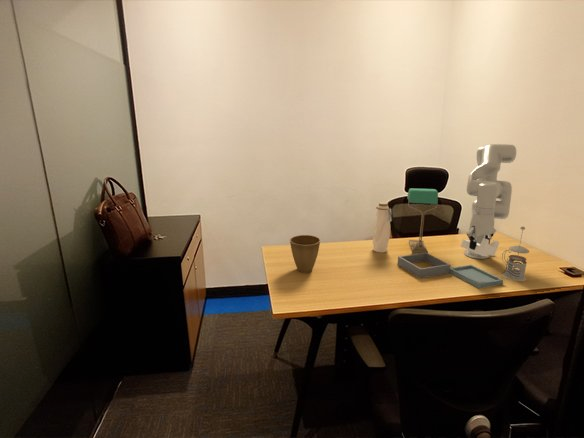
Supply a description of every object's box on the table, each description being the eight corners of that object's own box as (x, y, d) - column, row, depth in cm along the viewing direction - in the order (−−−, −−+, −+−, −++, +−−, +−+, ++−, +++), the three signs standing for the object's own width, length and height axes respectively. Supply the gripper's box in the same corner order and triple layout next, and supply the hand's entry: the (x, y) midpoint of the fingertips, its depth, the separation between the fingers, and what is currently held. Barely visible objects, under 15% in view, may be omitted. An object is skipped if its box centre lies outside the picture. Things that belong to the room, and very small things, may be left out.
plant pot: (288, 264, 179) (288, 235, 175) (317, 263, 181) (317, 234, 176) (291, 276, 165) (291, 245, 161) (321, 275, 166) (322, 244, 162)
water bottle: (392, 249, 201) (396, 202, 193) (387, 254, 193) (391, 205, 186) (375, 246, 206) (378, 200, 199) (370, 250, 199) (372, 203, 191)
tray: (470, 268, 174) (470, 264, 173) (502, 284, 157) (503, 279, 156) (448, 272, 170) (449, 268, 169) (479, 288, 152) (480, 283, 152)
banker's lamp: (405, 252, 196) (410, 192, 187) (402, 241, 215) (407, 186, 206) (434, 254, 193) (441, 193, 183) (428, 243, 212) (434, 186, 203)
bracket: (493, 258, 155) (499, 242, 153) (481, 255, 152) (487, 239, 151) (472, 248, 167) (477, 233, 165) (460, 246, 165) (466, 231, 163)
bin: (425, 260, 185) (426, 252, 183) (449, 273, 168) (450, 264, 167) (397, 264, 179) (398, 256, 178) (419, 278, 163) (420, 269, 162)
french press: (518, 282, 158) (528, 230, 152) (494, 273, 168) (502, 224, 162) (530, 278, 162) (540, 227, 156) (506, 269, 172) (514, 221, 166)
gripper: (492, 207, 161) (486, 243, 165) (462, 210, 155) (457, 247, 160) (506, 211, 154) (500, 248, 158) (476, 214, 148) (470, 252, 153)
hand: (479, 247), depth 159 cm, fingers closed on bracket, 7 cm apart
